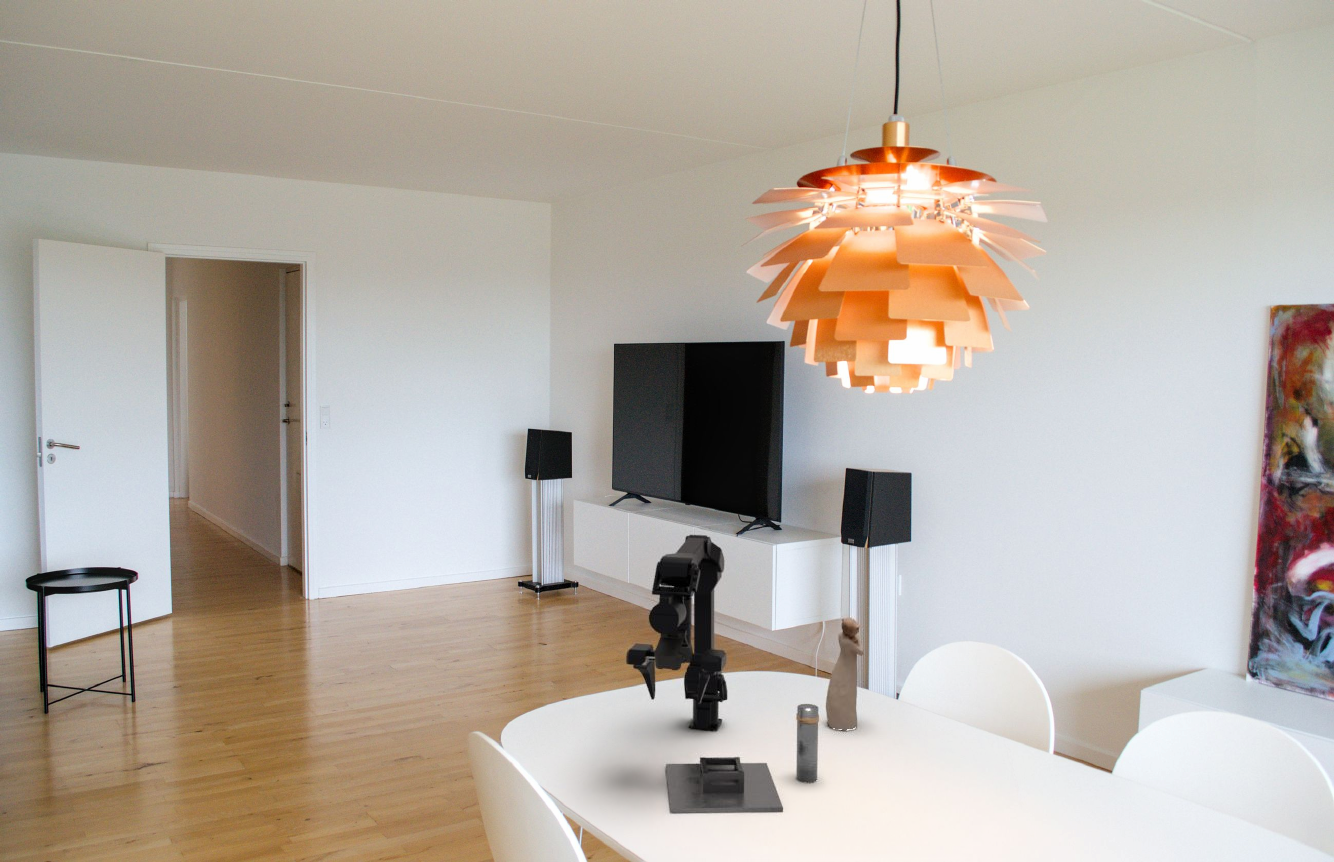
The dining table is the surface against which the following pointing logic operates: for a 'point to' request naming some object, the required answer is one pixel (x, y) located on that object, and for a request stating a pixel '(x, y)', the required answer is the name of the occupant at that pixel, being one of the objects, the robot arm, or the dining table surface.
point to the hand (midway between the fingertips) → (676, 701)
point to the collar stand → (721, 787)
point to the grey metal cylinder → (807, 742)
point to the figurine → (844, 679)
